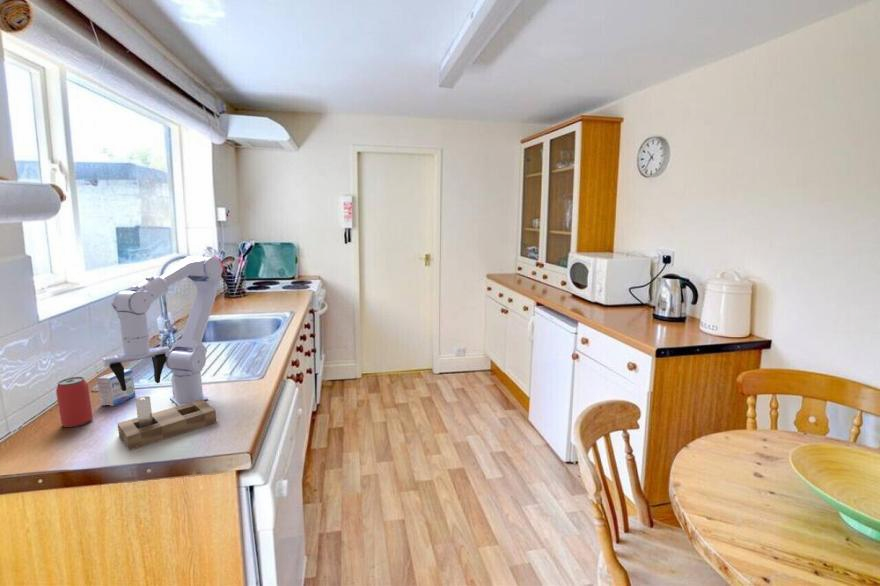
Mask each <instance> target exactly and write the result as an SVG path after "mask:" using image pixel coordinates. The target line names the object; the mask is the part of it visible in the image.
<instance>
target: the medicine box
mask: <svg viewBox="0 0 880 586" xmlns="http://www.w3.org/2000/svg"><path fill="white" fill-rule="evenodd" d="M133 374H134V373H133V370H132V369H128V368H126V369H125V368H124V379H125V384H126V391H123V390H122V389H121V386H120V383H119V381H118V379H117V377H116V375H115V374H114V372H113V371H112V372H110V373H107V374H105V375H101V376H100V377H97V378H96V380H97V387H98V393H99V400H100V405H101V404H102V405H101V406H105V405H110V406H109V407H115V406H117V405H116V404H118V403H120V404H122V403H123V401H124V402H126V401H128V400H130V399H132V398H134V397H135V396H136V390H135V381H134V375H133ZM129 398H130V399H129ZM127 399H128V400H127ZM125 400H126V401H125ZM121 402H122V403H121ZM114 405H115V406H114ZM118 405H119V404H118Z"/></svg>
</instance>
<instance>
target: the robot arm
mask: <svg viewBox="0 0 880 586" xmlns="http://www.w3.org/2000/svg"><path fill="white" fill-rule="evenodd" d="M223 271H224V270H223V266H222V264H221V262H220V259H219V258H217V257H215V256H210V257H209V256H193V255H188V256H186V257H185V258H182V259H181V260H179V263H177V265H175V266H173V267H172V268H170V269H169V270H168V271H166V272H165V273H163V274H162V275H159V276H158V275H147V276H146V277H145V280H144V281H142V282H140V283H139V284H137V285H135V284H134V285H133V286H131V288H130V289H129V290H121V291H119V292H117V294H115V296H114V297H113V301H112V303H111V308H112V309H113V310H114V311H115V312H116V313H117V318H118V319H119V323H120V325H119V326H120V331H121V339H122V341H121V343H122V349H123V352H121V353H117V354H114V355H111V356H106V357H102V364H103V366H104V367H105V368H107V367H109V369H110V370H111V371H112V372H114V374H115V375H116V377H117V379H118V381H119V383H120V386H121V389H122V390H123V391H126V384H125V379H124V369H125V367H124V366H123V364H124V363H128V362H132V361H133V362H134V361H139V360H143V359H150V358H151V361H152V365H153V375H154V376H153V377H154V382H155V383H156V384H160V383H161V376H162V372H163V369H164V366H166V368H167V369H168V370H170V374H171V380H170V381H171V386H172V387H171V388H172V395H171V396H169V399H170V400H171V401H172V402H173V403H175V405H177V406H180V405H184V404H188V403H191V402H195V401H198V400H203V401H207V400H209V397H208V396H207V395H206V394H204V392H203V383H202V371H203V369H204V368H205V366H206V361H207V357H206V355H207V352H208V348H207V347H206V346H205V344H204V343H202V342H203V338H204V335H205V332H206V329H207V326H208V322H209V319H210V316H211V313H212V309H213V306H214V304H215V299H216V297H217V293H218V291H219V283H220V280H221V277H222V275H223ZM185 278H187V279H189V281H190V282H191V283H192V285H194V286H195V287H196V290H197V291H196V294H195V296H194V300H193V301H192V305H191V309H190V312H189V314H188V317H187V321H186V323H185V327H184V329H183V331H182V336H181V338H179V339H178V340H177V341H175V342H173V343H172V345H171V348H170V347H168V346H160V347H150V339H149V329H148V321H147V312H148V311H149V309H150V308H151V305H152V304H153V303H154V302H155V301H157V300H158V299H160V298H161V297H163V296H165V295H166V294H167V293H168V292H169V289H170V287H171V286H173V285H175V284H176V283H178V282H180V281H182V280H184V279H185Z"/></svg>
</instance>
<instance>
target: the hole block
mask: <svg viewBox="0 0 880 586" xmlns="http://www.w3.org/2000/svg"><path fill="white" fill-rule="evenodd" d="M152 419H153V425H149V426H146V427H143V428H139V423H138V417H136V418H131V419H128V420H123V421H121V422H117V423H116V424H117V431H118V437H119V438H120V439H121V441H122V442H123V444H124V445H125V447H126V448H127V449H128V451H131V450H134V449H138V448H140V447H141V448H142V447H144V446H146V445H150V444H153V443H157V442H159V441H163V440H165V439H168V438H172V437H175V436H177V435H181V434H184V433H188V432H191V431H194V430H196V429H199V428H203V427H206V426H209V425H212V423H213V424H215V422H216V423H217V414H216V409H215V408H213V407H212V406H211V405H209V404H208V403H207V402H206V400H204V401H203V400H198V401H195V402H191V403H188V404H184V405H180V406H178V405H177V406H175V407H174V406H173V407H171V408H167V409H164V410H160V411H155V412H152Z"/></svg>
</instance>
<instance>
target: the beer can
mask: <svg viewBox="0 0 880 586" xmlns="http://www.w3.org/2000/svg"><path fill="white" fill-rule="evenodd" d="M55 393H56V398H57V405H58V411H59V412H58V413H59V416H60V417H59V418H60V422H61V425H62V426H63V427H65V428H74V427H73V426H76V427H79V425H80V426H83V425H85V423H86V424H87V422H88V423H89V422H91V421H92V420H93V418H94V417H93V409H92V403H91V402H92V401H91V398H90V396H91V395H90V390H89V385H88V382H87V381H86V379H85V377H84V376H72V377H68V378H63V379H61V380H59V381H58V382H57V387H56V392H55ZM82 424H83V425H82Z"/></svg>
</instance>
